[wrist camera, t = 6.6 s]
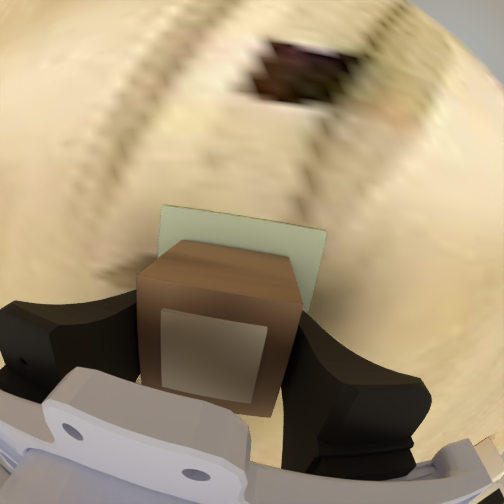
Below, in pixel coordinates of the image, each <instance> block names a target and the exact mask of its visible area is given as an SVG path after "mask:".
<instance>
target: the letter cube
mask: <svg viewBox="0 0 504 504" xmlns="http://www.w3.org/2000/svg"><path fill="white" fill-rule="evenodd" d="M303 305H304V304H303V300H302V297H301V294H300V291H299V287H298V284H297V281H296V278H295V275H294V271H293V268H292V265H291V262H290V259H289V257H286V256H280V255H274V254H268V253H262V252H256V251H249V250H243V249H237V248H231V247H225V246H219V245H212V244H206V243H200V242H194V241H188V240H181V241H179V242H178V243H177V244H175V245H174V246H173V247H171V248H170V249H169V250H168V251H166V252H165V253H164V254H163V255H161V256H160V257H159V258H157V259H156V260H155V261H154V262H152V263H151V264H150V265H149V266H147V267H146V268H145V269H144V270H142V271H141V272H140V273H139V274H138V275H137V329H138V347H139V361H140V372H141V382H142V385H143V386H147V387H150V388H153V389H157V390H161V391H164V392H168V393H172V394H176V395H180V396H185V397H189V398H194V399H198V400H203V401H206V402H209V403H212V404H214V405H217V406H220V407H223V408H226V409H229V410H231V411H232V412H233V413H236V414H243V415H251V416H259V417H269V418H271V415H272V412H273V409H274V406H275V403H276V400H277V397H278V393H279V390H280V387H281V384H282V380H283V377H284V374H285V371H286V367H287V364H288V360H289V357H290V353H291V350H292V346H293V343H294V339H295V335H296V332H297V328H298V324H299V320H300V317H301V313H302V309H303Z"/></svg>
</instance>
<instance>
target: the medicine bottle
mask: <svg viewBox="0 0 504 504" xmlns="http://www.w3.org/2000/svg"><path fill="white" fill-rule="evenodd" d="M474 449H475V450H476V452H477V454H478V456H479V457H480V459H481V461H482V463H483V465H484V466H485V468H486V470H487V472H488V474H489V476H490V478H491V480H492V482H493V483H492V485H491V486H490V487H489V488H487V489H486V490H485V491H484V492H483V493H481V494H480V495H479V496H478V497H477V498H475V499H474V500H473V501H472V502H470V503H469V504H504V488H503V486H502V484H501V483H498V480H499V479H500V478H501V477H502V476H503V475H504V461H503V459H502V457H501V455H500V454H499V452H498V451H497V449H496V447H495V446H494V444H493V442H492V441H491V439H490V438H489V437H488V438H486V439H485V440H483V441H482V442H480V443H479V444H477V445H476V446H474Z"/></svg>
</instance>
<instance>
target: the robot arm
mask: <svg viewBox="0 0 504 504" xmlns="http://www.w3.org/2000/svg"><path fill="white" fill-rule="evenodd" d="M0 351H1V354H2V356H3V359H4V362H5V364H6V365H5V366H4V367H3V368H2V369H0V504H469V503H470V502H472V501H473V500H474V499H475V498H477V497H478V496H479V495H480V494H481V493H483V492H484V491H485V490H486V489H487V488H489V487H490V486H491V485H492V483H493V482H492V480H491V478H490V476H489V474H488V472H487V470H486V468H485V466H484V465H483V463H482V461H481V459H480V457H479V456H478V454H477V452H476V450H475V449H474V447H473V445H472V443H471V442H470V440H469V439H463V440H460V441H457V442H454V443H451V444H448V445H446V446H444V447H443V448H441V449H440V450H439V451H438V452H437V453H436V454H435V456H434V457H433V459H432V460H429V461H425V462H421V463H417V464H416V463H415V460H414V458H413V455H412V453H411V450H410V448H412V447H413V446H414V442H413V440H412V438H411V436H412V435H413V433H414V432H415V431H416V429H417V428H418V427H419V425H420V424H421V423H422V421H423V420H424V418H425V417H426V415H427V413H428V411H429V409H430V406H431V403H432V399H431V394H430V393H429V391H428V389H427V388H426V386H425V385H424V383H423V381H422V380H421V378H418V377H414V376H410V375H406V374H402V373H398V372H395V371H392V370H389V369H387V368H384V367H381V366H379V365H377V364H374V363H372V362H370V361H368V360H366V359H364V358H362V357H360V356H359V355H357V354H355V353H354V352H352V351H351V350H349V349H347V348H346V347H344V346H343V345H342V344H340V343H339V342H338V341H336V340H335V339H334V338H333V337H331V336H330V335H329V334H328V333H327V332H326V331H325V330H323V329H322V328H321V327H320V326H319V325H318V324H317V323H316V322H315V321H314V320H313V319H312V318H311V317H310V316H309V315H308V314H307V313H306V312H305V311H303V310H302V313H301V317H300V320H299V324H298V328H297V332H296V335H295V339H294V343H293V346H292V350H291V353H290V357H289V360H288V364H287V367H286V371H285V374H284V377H283V380H282V384H281V390H282V399H283V410H284V426H283V451H282V465H281V469H280V468H276V467H272V466H268V465H264V464H260V463H256V462H253V461H250V450H251V436H250V431H249V426H248V425H247V424H246V423H245V422H244V421H243V420H241V419H240V418H239V417H238V416H237V415H235V414H234V413H233V412H232V411H231V410H229V409H226V408H223V407H220V406H217V405H214V404H212V403H209V402H206V401H203V400H198V399H194V398H189V397H185V396H180V395H176V394H172V393H168V392H164V391H161V390H157V389H153V388H150V387H147V386H143V385H140V384H137V383H135V382H136V380H137V378H138V376H139V375H140V373H141V372H140V361H139V347H138V329H137V289H136V290H133V291H130V292H127V293H124V294H121V295H117V296H114V297H110V298H106V299H102V300H98V301H92V302H86V303H77V304H64V305H51V304H36V303H29V302H22V301H13V302H11V303H10V304H8V305H6V306H5V307H3V308H2V309H0Z"/></svg>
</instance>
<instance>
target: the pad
mask: <svg viewBox="0 0 504 504" xmlns="http://www.w3.org/2000/svg"><path fill="white" fill-rule="evenodd" d="M326 235H327V231H326V230H321V229H315V228H310V227H304V226H299V225H293V224H287V223H282V222H276V221H270V220H264V219H258V218H252V217H245V216H239V215H233V214H226V213H220V212H213V211H206V210H199V209H192V208H185V207H178V206H170V205H162V209H161V220H160V231H159V245H158V258H159V257H160V256H161V255H163V254H164V253H165V252H166V251H168V250H169V249H170V248H171V247H173V246H174V245H175V244H177V243H178V242H179V241H181V240H188V241H194V242H200V243H206V244H212V245H219V246H225V247H231V248H237V249H243V250H249V251H256V252H262V253H268V254H274V255H280V256H286V257H289V259H290V262H291V265H292V268H293V271H294V275H295V278H296V281H297V284H298V287H299V291H300V294H301V297H302V300H303V304H304V305H303V309H302V310H303V311H305V312H306V313H307V314H308V311H309V307H310V303H311V300H312V296H313V292H314V288H315V284H316V280H317V275H318V271H319V267H320V263H321V258H322V254H323V249H324V245H325V240H326Z"/></svg>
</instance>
